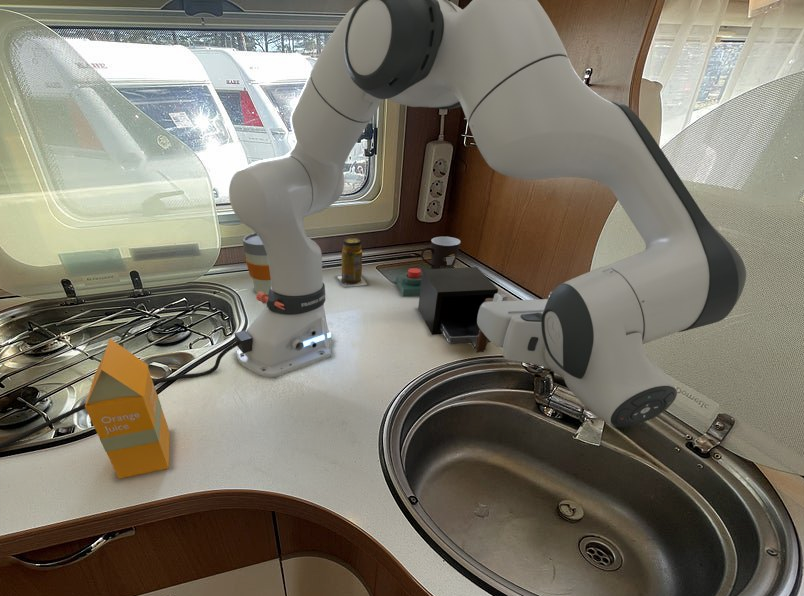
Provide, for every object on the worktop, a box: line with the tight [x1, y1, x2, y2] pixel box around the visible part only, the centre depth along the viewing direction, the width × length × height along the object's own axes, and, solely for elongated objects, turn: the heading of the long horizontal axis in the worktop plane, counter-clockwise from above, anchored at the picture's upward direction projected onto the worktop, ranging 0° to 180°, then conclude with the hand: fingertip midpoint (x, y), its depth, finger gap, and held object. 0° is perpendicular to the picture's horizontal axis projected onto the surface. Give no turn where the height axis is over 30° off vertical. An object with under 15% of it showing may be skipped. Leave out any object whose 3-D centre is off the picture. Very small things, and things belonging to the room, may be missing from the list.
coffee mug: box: [420, 236, 461, 269], centre depth 130 cm, size 12×9×10 cm
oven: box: [417, 266, 499, 336], centre depth 104 cm, size 14×14×11 cm
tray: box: [438, 298, 493, 354], centre depth 93 cm, size 16×11×12 cm
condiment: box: [336, 237, 368, 288], centre depth 125 cm, size 7×8×12 cm
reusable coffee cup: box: [242, 232, 271, 295], centre depth 120 cm, size 13×13×15 cm
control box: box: [395, 271, 422, 297], centre depth 122 cm, size 10×8×4 cm
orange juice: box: [85, 337, 171, 480], centre depth 64 cm, size 8×9×20 cm
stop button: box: [407, 267, 422, 279], centre depth 120 cm, size 4×4×2 cm
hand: (525, 296), depth 70 cm, fingers open, 8 cm apart
